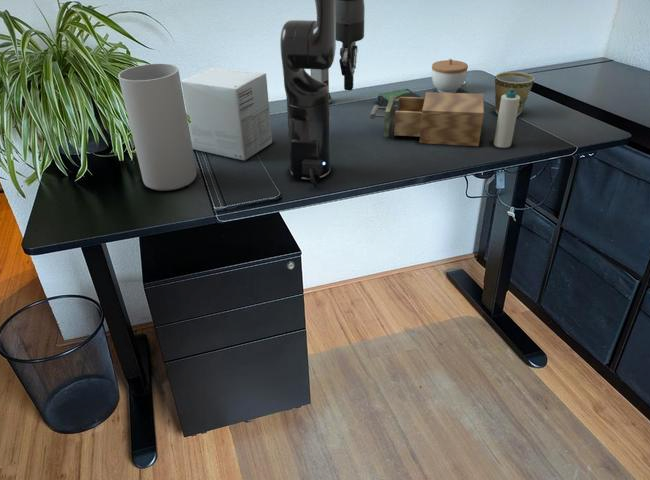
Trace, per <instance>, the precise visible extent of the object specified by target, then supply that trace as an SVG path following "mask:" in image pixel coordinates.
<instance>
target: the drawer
mask: <svg viewBox="0 0 650 480" xmlns="http://www.w3.org/2000/svg"><path fill="white" fill-rule="evenodd" d="M424 100H425V97H422V98H419V97H400V102H399V111H395V95H391V97H390V99H389V102H388V105H387V107H385V106H379V105H378V104H374V105H373V108H372V110H371V112H370V115H369V118H370V119H371V120H374V119H375V118H381V119H384V124H383V125H384V126H383V127H384V128H383V137H384V138H389V137H390V133H391V131H392V127H394V128H393V136H397V137H399V136H400V137H401V136H402V137H419V138H420V130H421V119H422V109H423V104H424ZM379 110H381V111H382V110H384V114H378V111H379ZM394 113H395V114H394ZM393 124H394V125H393Z"/></svg>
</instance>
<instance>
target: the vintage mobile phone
mask: <svg viewBox="0 0 650 480" xmlns="http://www.w3.org/2000/svg"><path fill="white" fill-rule="evenodd" d="M329 69H330V68H329ZM329 69H326V70H318V69H309V70H310V76H311V77H313V78H314V79H316V80H318V81H321V82H323V83H324V84H326V86H327V87H328V90H329V91H330V82H329V81H330V77H329V75H330V74H329V73H330V72H329V71H330V70H329ZM331 102H332V96H331V94H330V92H329V104H330V103H331Z"/></svg>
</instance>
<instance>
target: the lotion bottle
mask: <svg viewBox="0 0 650 480" xmlns="http://www.w3.org/2000/svg"><path fill="white" fill-rule="evenodd" d="M519 101H520V96H518V95H516V92H514V89H510V91H508V92H507V94H505V95H502V97H501V103H500V108H499V114H497V121H496V126H495V132H494V138H493V146H495V147H496V148H501V149H505V148H511V146H512V141H513V136H514V132H515V126H516V122H517V117H518V116H517V112H518V106H519Z"/></svg>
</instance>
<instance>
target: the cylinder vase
mask: <svg viewBox="0 0 650 480" xmlns="http://www.w3.org/2000/svg"><path fill="white" fill-rule="evenodd" d="M117 77H118V81H119V86H120V91H121V95H122V98H123V103H124V106H125V112H126V116H127V119H128V123H129V128H130V133H131V136H132V140H133V144H134V145H133V146H134V149H135V153H136V157H137V162H138V165H139V170H140V174H141V179H142V182H143V185H144V186H145V187H146V188H149V189H150V190H153V191H161V192H168V191H174V190H179V189H182V188H184V187H187V186H189V185H190V184H192V183H193V182H194V181H195V180H196V178H197V168H196V163H195V156H194V150H193V148H192V142H191V136H190V130H189V125H188V118H187V113H186V107H185V101H184V95H183V89H182V84H181V81H182V80H181V75H180V69H179V67H178V66H177V65H175V64H170V63H147V64H140V65H135V66H132V67H128V68H126V69H124V70H121V71H120V72H119V73H118V74H117Z"/></svg>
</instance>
